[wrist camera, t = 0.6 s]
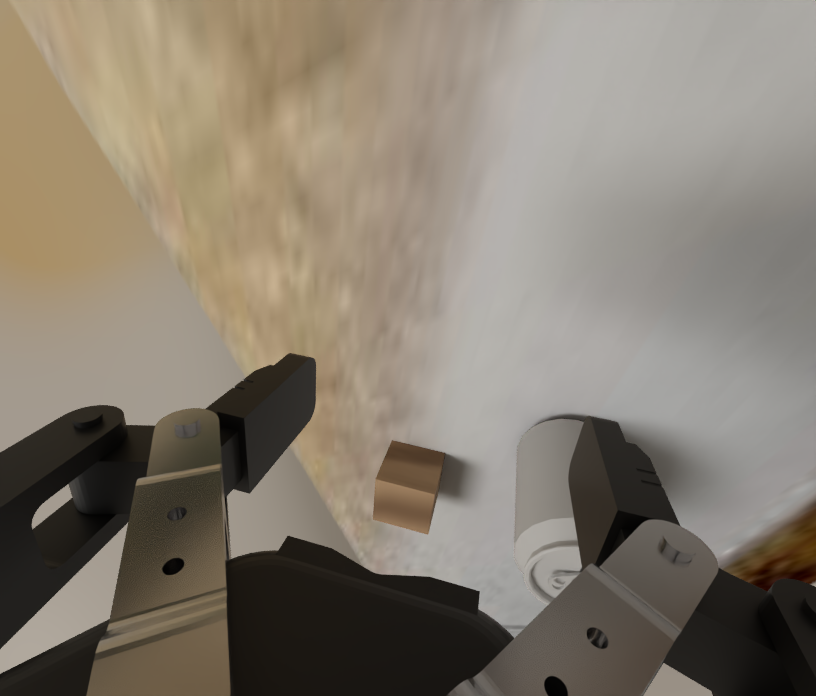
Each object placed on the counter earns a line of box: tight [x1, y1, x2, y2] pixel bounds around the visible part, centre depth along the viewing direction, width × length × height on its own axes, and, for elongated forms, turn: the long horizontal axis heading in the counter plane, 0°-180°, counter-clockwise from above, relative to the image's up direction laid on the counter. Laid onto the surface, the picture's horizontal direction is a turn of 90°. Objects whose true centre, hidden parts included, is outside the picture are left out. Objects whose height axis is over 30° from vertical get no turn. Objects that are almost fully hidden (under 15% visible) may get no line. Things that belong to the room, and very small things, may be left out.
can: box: [514, 419, 584, 606], centre depth 29 cm, size 8×8×12 cm
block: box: [373, 440, 445, 534], centre depth 37 cm, size 5×5×5 cm
